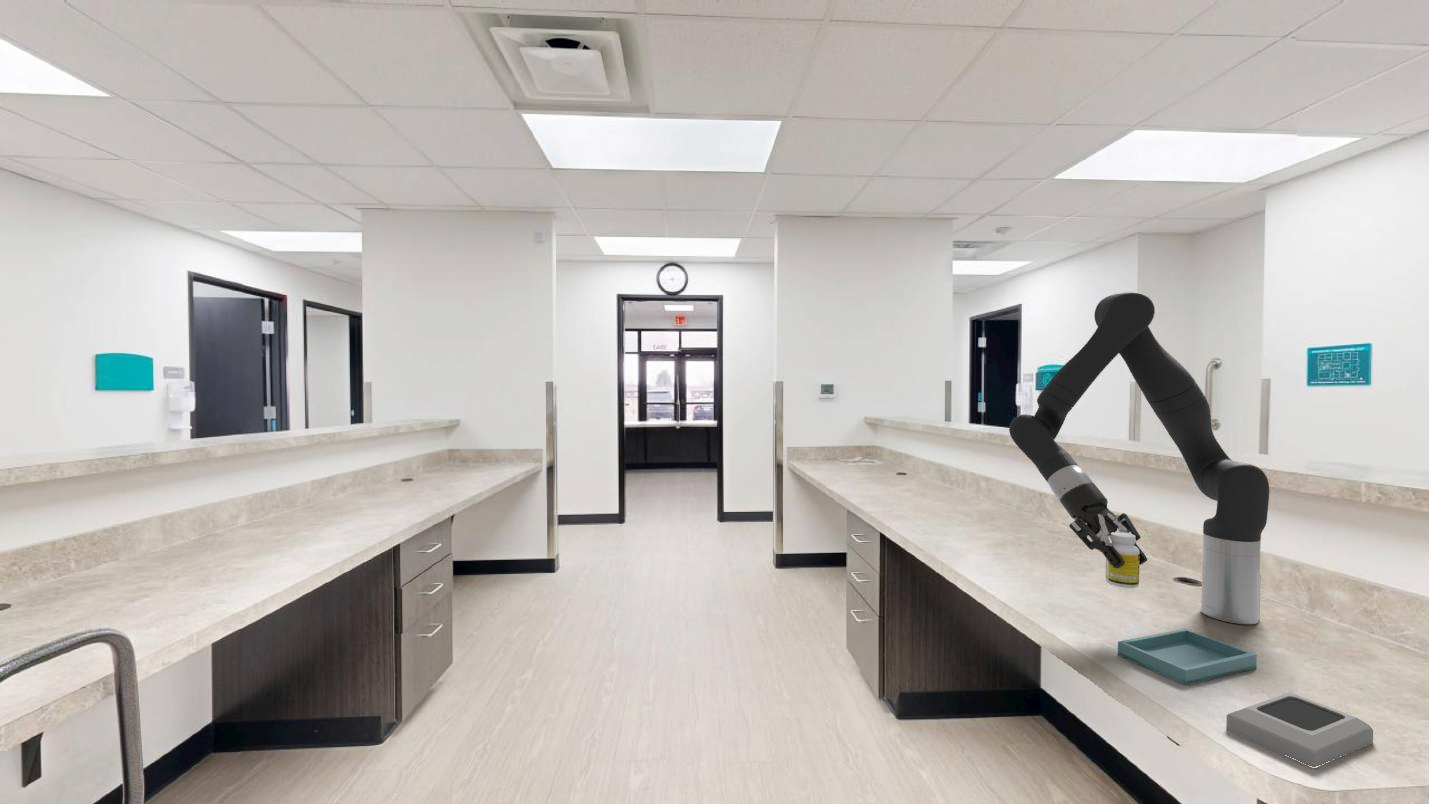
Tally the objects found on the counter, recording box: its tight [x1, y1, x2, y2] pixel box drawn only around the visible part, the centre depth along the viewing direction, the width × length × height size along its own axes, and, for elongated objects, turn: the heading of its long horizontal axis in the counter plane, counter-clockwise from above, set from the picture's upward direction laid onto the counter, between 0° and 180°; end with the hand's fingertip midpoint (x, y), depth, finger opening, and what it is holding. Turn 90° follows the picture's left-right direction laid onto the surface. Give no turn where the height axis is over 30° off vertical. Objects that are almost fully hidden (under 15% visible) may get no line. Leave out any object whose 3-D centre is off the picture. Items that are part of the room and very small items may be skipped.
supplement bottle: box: [1105, 531, 1140, 589], centre depth 115 cm, size 5×5×10 cm
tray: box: [1117, 627, 1258, 686], centre depth 105 cm, size 18×12×2 cm, turn 109°
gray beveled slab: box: [1225, 692, 1374, 767], centre depth 83 cm, size 10×4×15 cm
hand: (1131, 564), depth 113 cm, fingers closed on supplement bottle, 5 cm apart
